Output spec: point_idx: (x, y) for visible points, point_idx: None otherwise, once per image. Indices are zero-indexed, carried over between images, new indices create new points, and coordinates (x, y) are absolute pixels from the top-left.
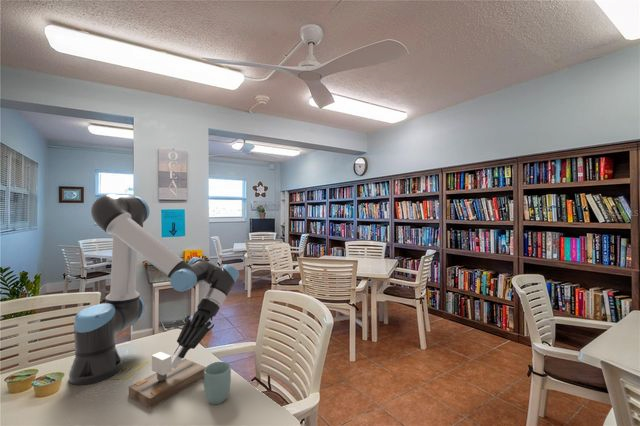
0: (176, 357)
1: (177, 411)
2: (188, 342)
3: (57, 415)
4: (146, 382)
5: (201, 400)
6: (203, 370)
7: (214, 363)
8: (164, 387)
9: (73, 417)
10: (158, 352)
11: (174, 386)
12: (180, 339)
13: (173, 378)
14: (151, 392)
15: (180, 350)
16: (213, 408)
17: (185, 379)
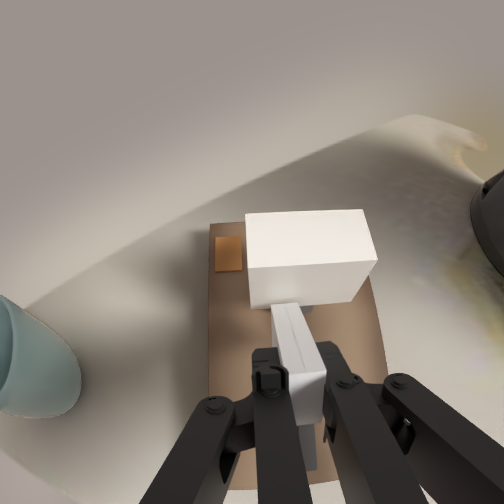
0: (276, 334)
1: (126, 281)
2: (254, 417)
3: (376, 139)
4: None
5: (99, 354)
6: None
7: (6, 380)
8: (230, 282)
9: (345, 147)
10: (372, 245)
11: (208, 315)
12: (391, 399)
13: (263, 340)
14: (238, 238)
15: (280, 358)
16: None
17: (209, 369)
